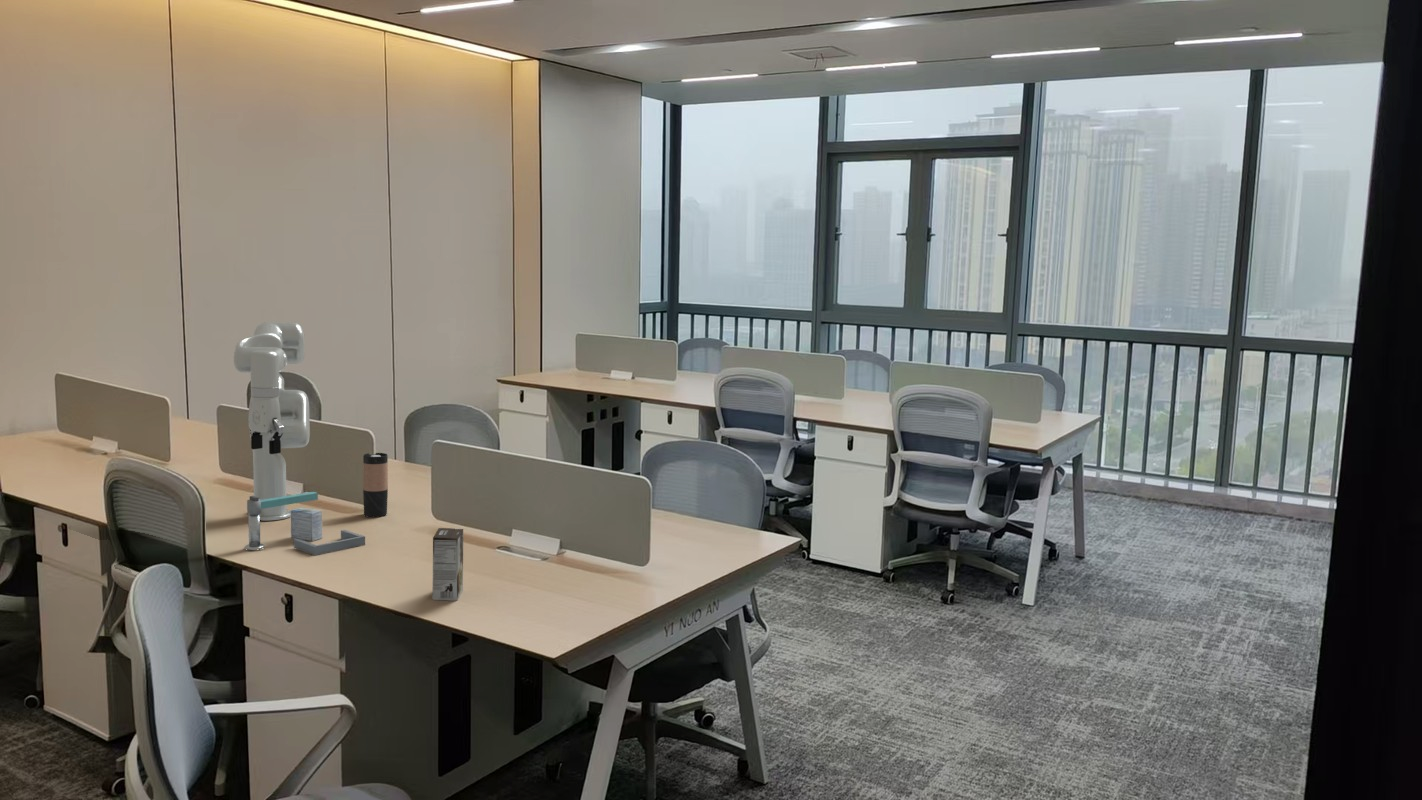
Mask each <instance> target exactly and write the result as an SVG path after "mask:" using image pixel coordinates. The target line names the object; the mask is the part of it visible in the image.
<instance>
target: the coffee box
mask: <svg viewBox="0 0 1422 800" xmlns="http://www.w3.org/2000/svg"><path fill="white" fill-rule="evenodd" d="M463 589H464V528H452V527H451V528H450V527H440V528H438V529H437V531H436V532H435V534H434V536H432V601H458V599H460V595H461V594H462V591H463Z"/></svg>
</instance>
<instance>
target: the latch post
mask: <svg viewBox="0 0 1422 800" xmlns="http://www.w3.org/2000/svg"><path fill="white" fill-rule="evenodd" d="M247 515H248V544H246V545H245V546H244V549H247V550H257V549H262V548H264V549H265V544H263V543H261V521H260V514H256V515H250V514H247ZM247 550H246V551H247ZM262 550H263V549H262Z"/></svg>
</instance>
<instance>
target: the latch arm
mask: <svg viewBox="0 0 1422 800" xmlns="http://www.w3.org/2000/svg"><path fill="white" fill-rule="evenodd" d="M317 500H319V493H318V492H316V491H310V492H303V493H297V494H290V495H286V496H283V497H276V498H270V499H264V500H260V499H259V497H255V496H254V495H249V499H247V500H246V510H247V511H246V514H247V515H248V514H250V515H256V514H260V513H261V509H264V508H270V507H276V506H282V505H286V506H288V505H293V504H301V503H306V502H311V501H317Z"/></svg>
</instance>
